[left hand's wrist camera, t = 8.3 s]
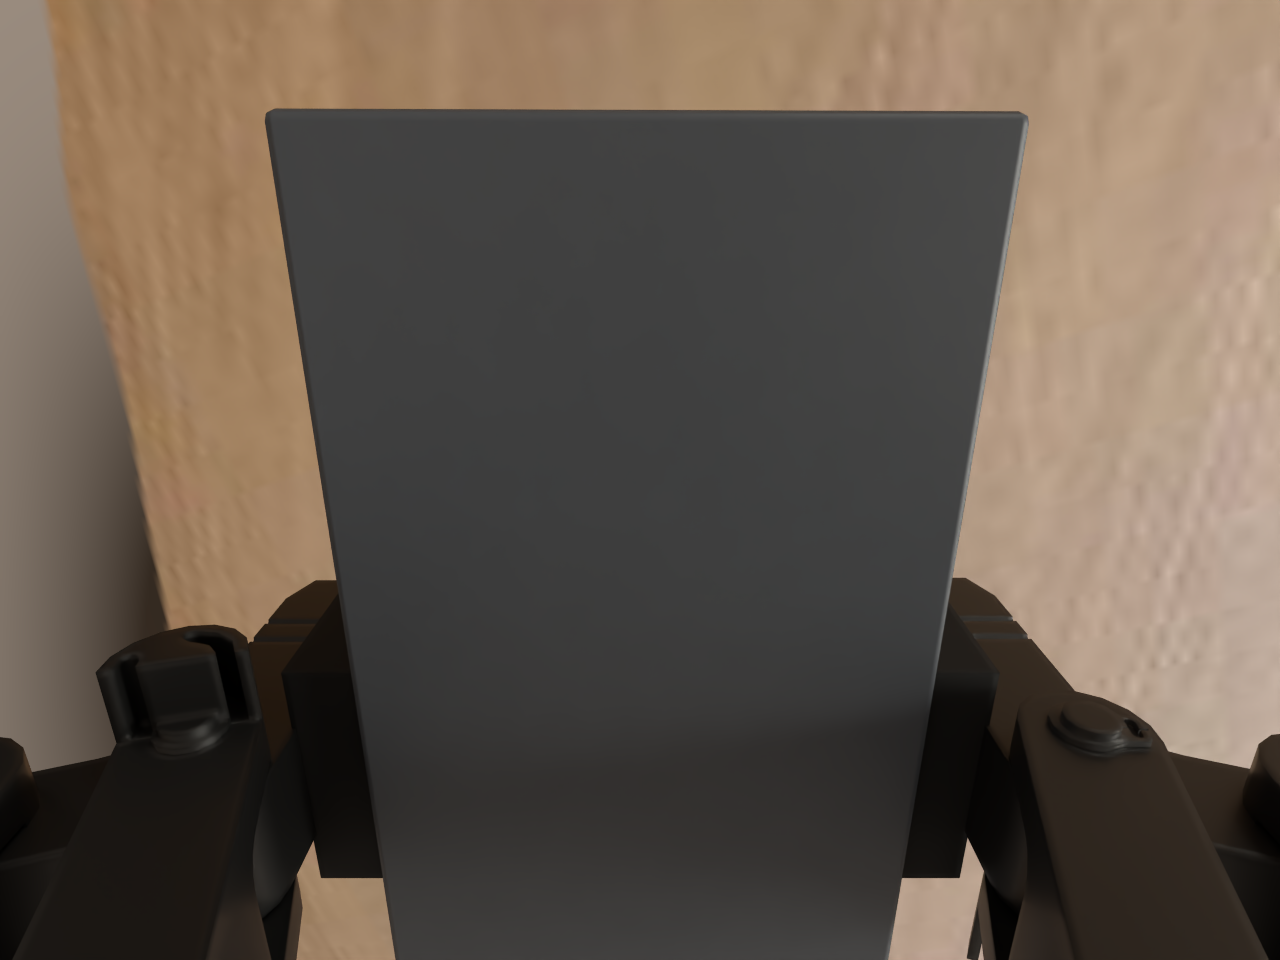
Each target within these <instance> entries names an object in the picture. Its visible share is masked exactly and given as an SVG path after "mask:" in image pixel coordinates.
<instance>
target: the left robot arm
mask: <svg viewBox="0 0 1280 960" xmlns="http://www.w3.org/2000/svg"><path fill="white" fill-rule="evenodd" d="M96 675H97V679H98V682H99V686H100V689H101V692H102V696H103V699H104V702H105V706H106V709H107V712H108V716H109V719H110V723H111V726H112V729H113V733H114V736H115V740H116V743H117V744H116V746H115V748H114V750H113V752H112V754H111V755H110V756H107V757H103V758H99V759H95V760H90V761H85V762H80V763H75V764H70V765H65V766H60V767H56V768H50V769H46V770H41V771H36V772H32V771H31V768H30V766H29V763H28V760H27V757H26V754H25V751H24V749H23V747H22V746H20V745H19V744H18V743H16V742H15V741H13V740H12V739H11V738H2V737H0V960H296V958H297V950H298V941H299V933H300V925H301V916H302V901H301V894H300V888H299V883H298V879H297V873H298V871H299V869H300V867H301V865H302V863H303V861H304V859H305V857H306V855H307V853H308V851H309V849H310V847H311V845H312V842H313V840H314V845H315V850H316V855H317V860H318V865H319V870H320V875H321V878H383V875H382V869H381V862H380V856H379V849H378V843H377V837H376V830H375V824H374V817H373V811H372V805H371V798H370V792H369V785H368V779H367V773H366V766H365V760H364V753H363V747H362V740H361V734H360V728H359V721H358V715H357V708H356V702H355V696H354V689H353V683H352V676H351V670H350V664H349V657H348V651H347V644H346V638H345V631H344V625H343V619H342V612H341V606H340V599H339V593H338V587H337V580H316V581H314V582H312V583H311V584H309V585H307V586H306V587H304V588H303V589H301V590H299V591H298V592H296V593H294V594H293V595H291V596H290V597H288V598H286V599H285V601H284V602H283V603H282V604H281V605H280V607H279V608H278V609H277V610H276V611H275V613H274V614H273V615H272V616H271V617H270V619H269V622H268V624H265V625H264V626H263V627H262V628H261V629H260V631H259V632H258V633H257V634H256V635H255V637H254V642H250V643H249V644H248V641H247V637H245V636H244V635H243V634H241V633H240V632H239V631H237V630H236V629H234V628H229V627H224V626H218V625H200V626H187V627H182V628H178V629H173V630H169V631H164V632H160V633H158V634H155V635H152V636H150V637H147V638H145V639H142V640H139V641H137V642H134V643H132V644H131V645H129V646H127V647H126V648H124V649H123V650H121V651H119V652H118V653H116V654H114V655H113V656H111V657H110V658H109V659H108V660H107V661H106V662H105V663H104V664H103V665H102V666H101V667H100V668H99V669H98V670H97V672H96ZM967 837H968V839H969V841H970V843H971V845H972V847H973V849H974V851H975V853H976V855H977V857H978V860H979V862H980V864H981V866H982V868H983V870H984V874H983V879H982V883H981V888H980V893H979V898H978V902H977V907H976V912H975V917H974V921H973V926H972V931H971V936H970V940H969V947H968V954H967V959H971V960H978V958H979V953H980V948H981V944H982V948H983V956H984V960H1280V734H1276V735H1271V736H1269V737H1268V738H1267V739H1265V740H1264V741H1262V742H1261V743H1260V744H1259V745H1258V748H1257V751H1256V754H1255V757H1254V759H1253V762H1252V765H1251V768H1250V769H1247V768H1243V767H1238V766H1233V765H1228V764H1223V763H1218V762H1213V761H1208V760H1203V759H1198V758H1193V757H1189V756H1184V755H1180V754H1176V753H1172V752H1169V751H1168V750H1167V748H1166V746H1165V744H1164V742H1163V741H1162V740H1161V738H1160V737H1159V736H1158V735H1157V733H1156V732H1155V731H1154V730H1153V728H1152V727H1151V726H1150V725H1149V724H1148V723H1146V722H1145V721H1143V720H1142V719H1141V718H1139V717H1138V716H1136V715H1135V714H1134V713H1132V712H1131V711H1129V710H1128V709H1125V708H1123V707H1121V706H1119V705H1116V704H1114V703H1112V702H1110V701H1108V700H1105V699H1103V698H1100V697H1096V696H1092V695H1088V694H1084V693H1080V692H1076V691H1074V689H1073V688H1072V687H1071V686H1070V685H1069V683H1068V682H1067V681H1066V680H1065V679H1064V677H1063V676H1062V675H1061V674H1060V673H1059V672H1058V670H1057V669H1056V668H1055V667H1054V666H1053V664H1052V663H1051V662H1050V661H1049V660H1048V658H1047V657H1046V656H1045V655H1044V654H1043V652H1042V651H1041V650H1040V649H1039V648H1038V647H1037V645H1036V644H1035V643H1034V642H1033V641H1032V639H1028V637H1027V633H1026V632H1025V631H1024V630H1023V629H1022V627H1021V626H1020V625H1019V624H1018V623H1017V622H1016V621H1013V617H1012V616H1011V614H1010V613H1009V612H1008V611H1007V610H1006V608H1005V607H1004V606H1003V605H1002V604H1001V602H1000V601H999V600H998V599H997V598H996V597H995V596H994V595H993V594H991V593H989V592H988V591H986V590H984V589H983V588H981V587H980V586H978V585H976V584H975V583H973V582H971V581H970V580H968V579H966V578H952V583H951V589H950V595H949V601H948V606H947V612H946V618H945V624H944V630H943V636H942V642H941V648H940V654H939V660H938V666H937V672H936V678H935V684H934V690H933V696H932V702H931V707H930V713H929V719H928V725H927V731H926V737H925V743H924V749H923V755H922V761H921V767H920V773H919V779H918V785H917V791H916V797H915V802H914V808H913V814H912V820H911V826H910V832H909V838H908V844H907V850H906V856H905V862H904V868H903V874H902V878H960V873H961V868H962V863H963V858H964V853H965V848H966V843H967Z"/></svg>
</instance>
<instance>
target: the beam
mask: <svg viewBox="0 0 1280 960" xmlns="http://www.w3.org/2000/svg"><path fill="white" fill-rule="evenodd" d="M265 125H266V131H267V138H268V144H269V151H270V157H271V163H272V170H273V176H274V183H275V189H276V196H277V202H278V208H279V215H280V221H281V228H282V234H283V240H284V247H285V253H286V260H287V266H288V272H289V279H290V285H291V292H292V298H293V305H294V311H295V317H296V324H297V330H298V337H299V343H300V349H301V356H302V362H303V369H304V375H305V381H306V388H307V394H308V401H309V407H310V414H311V420H312V426H313V433H314V439H315V446H316V452H317V458H318V465H319V471H320V478H321V484H322V490H323V497H324V503H325V510H326V516H327V523H328V529H329V535H330V542H331V548H332V555H333V561H334V567H335V574H336V580H337V587H338V593H339V599H340V606H341V612H342V619H343V625H344V631H345V638H346V644H347V651H348V657H349V664H350V670H351V676H352V683H353V689H354V696H355V702H356V708H357V715H358V721H359V728H360V734H361V740H362V747H363V753H364V760H365V766H366V773H367V779H368V785H369V792H370V798H371V805H372V811H373V817H374V824H375V830H376V837H377V843H378V849H379V856H380V862H381V869H382V875H383V882H384V888H385V894H386V901H387V907H388V914H389V920H390V926H391V933H392V939H393V946H394V952H395V958H396V960H888V957H889V951H890V945H891V939H892V933H893V927H894V921H895V915H896V909H897V903H898V898H899V892H900V886H901V880H902V874H903V868H904V862H905V856H906V850H907V844H908V838H909V832H910V826H911V820H912V814H913V808H914V802H915V797H916V791H917V785H918V779H919V773H920V767H921V761H922V755H923V749H924V743H925V737H926V731H927V725H928V719H929V713H930V707H931V702H932V696H933V690H934V684H935V678H936V672H937V666H938V660H939V654H940V648H941V642H942V636H943V630H944V624H945V618H946V612H947V606H948V601H949V595H950V589H951V583H952V577H953V571H954V565H955V559H956V553H957V547H958V541H959V535H960V529H961V523H962V517H963V511H964V505H965V500H966V494H967V488H968V482H969V476H970V470H971V464H972V458H973V452H974V446H975V440H976V434H977V428H978V422H979V416H980V410H981V404H982V399H983V393H984V387H985V381H986V375H987V369H988V363H989V357H990V351H991V345H992V339H993V333H994V327H995V321H996V315H997V309H998V304H999V298H1000V292H1001V286H1002V280H1003V274H1004V268H1005V262H1006V256H1007V250H1008V244H1009V238H1010V232H1011V226H1012V220H1013V214H1014V208H1015V203H1016V197H1017V191H1018V185H1019V179H1020V173H1021V167H1022V161H1023V155H1024V149H1025V143H1026V137H1027V131H1028V125H1029V122H1028V116H1027V115H1025V114H1023V113H1021V112H1019V111H762V110H498V109H273V110H271V111H269V112H267V113H266V117H265Z"/></svg>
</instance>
